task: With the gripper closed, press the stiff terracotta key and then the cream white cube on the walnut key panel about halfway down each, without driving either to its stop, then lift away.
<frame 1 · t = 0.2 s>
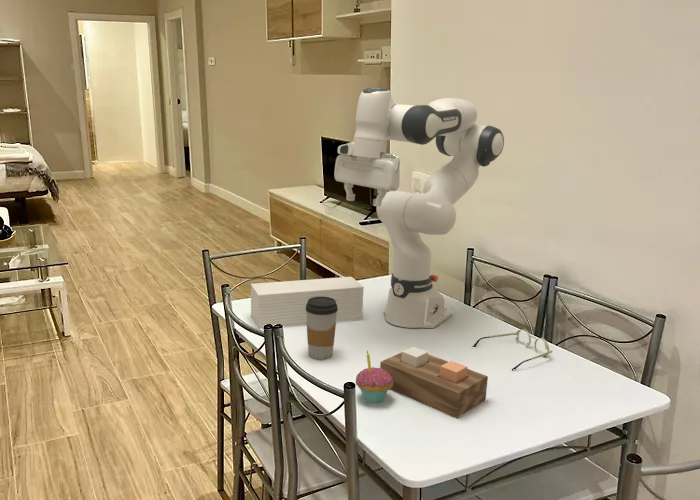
hand: (363, 203, 172), 39 cm above the table, tool pointing down, fingers open, 8 cm apart
coffee cup: (320, 355, 171), on the table
cupcake: (373, 399, 149), on the table
terracotta key: (453, 374, 148), point 6 cm above the table, slide at 0.0 cm
cream white cube: (414, 359, 155), point 6 cm above the table, slide at 0.0 cm
stack of papers: (306, 319, 197), on the table
walnut key panel: (431, 392, 153), on the table
round eyeglasses: (511, 356, 176), on the table
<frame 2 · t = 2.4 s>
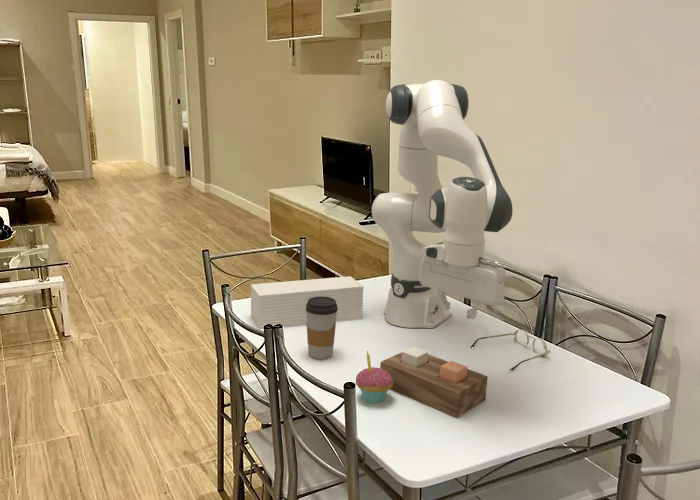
hand: (457, 313, 144), 21 cm above the table, tool pointing down, fingers open, 5 cm apart
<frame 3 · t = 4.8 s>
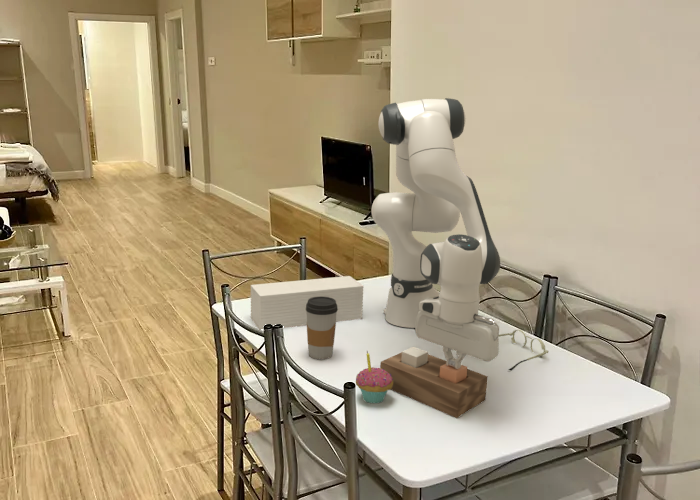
hand: (453, 366, 147), 8 cm above the table, tool pointing down, fingers closed, pressing on terracotta key
terracotta key: (453, 374, 148), point 6 cm above the table, slide at 0.1 cm, touching gripper
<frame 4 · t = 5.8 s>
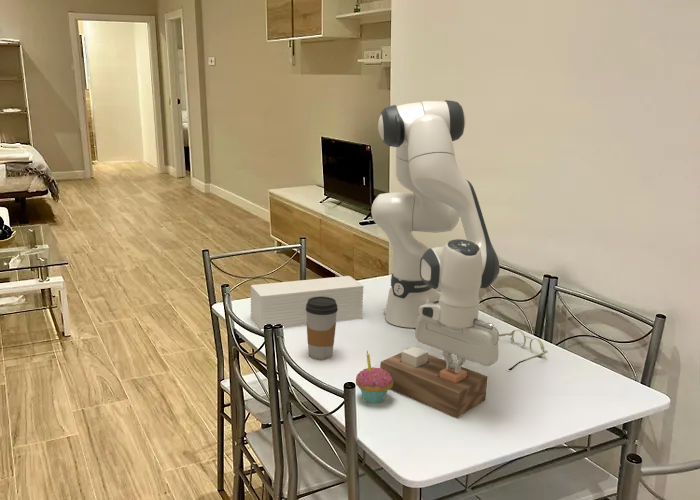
hand: (453, 370, 147), 7 cm above the table, tool pointing down, fingers closed
terracotta key: (452, 379, 148), point 5 cm above the table, slide at 1.2 cm
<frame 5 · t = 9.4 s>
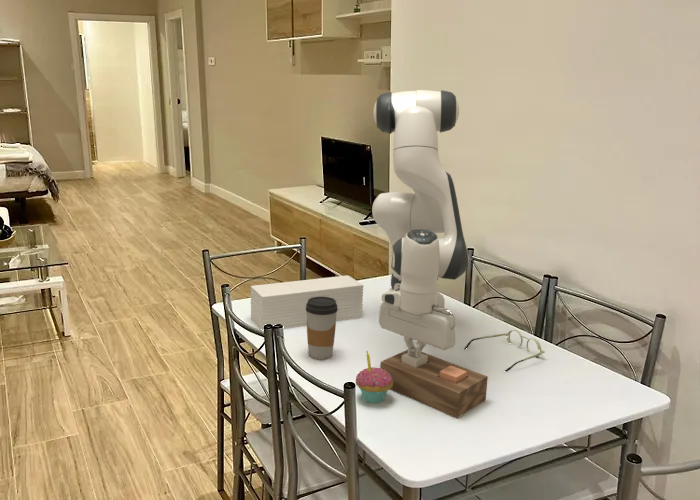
hand: (414, 355, 154), 8 cm above the table, tool pointing down, fingers closed, pressing on cream white cube
cream white cube: (414, 363, 155), point 6 cm above the table, slide at 0.9 cm, touching gripper
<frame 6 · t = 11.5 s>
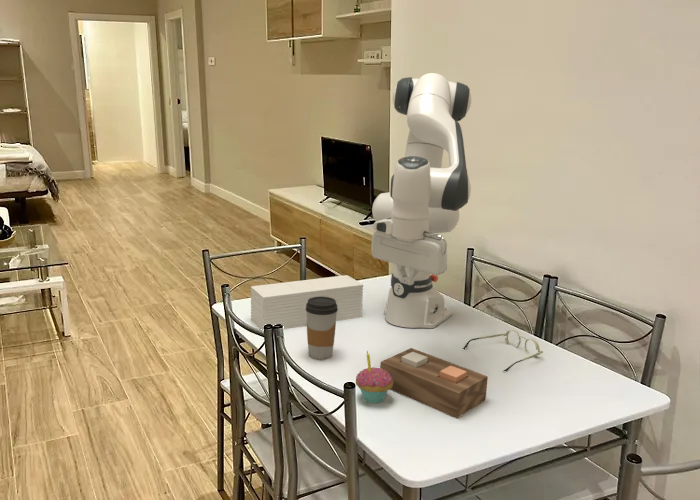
hand: (406, 283, 155), 24 cm above the table, tool pointing down, fingers closed
cream white cube: (414, 364, 155), point 5 cm above the table, slide at 1.3 cm
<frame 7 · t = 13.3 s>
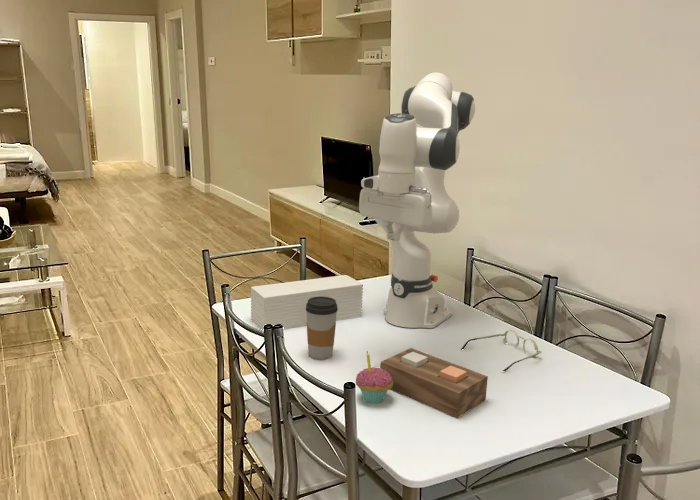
hand: (393, 239, 158), 33 cm above the table, tool pointing down, fingers closed
at the end: terracotta key slide at 1.2 cm; cream white cube slide at 1.3 cm; cupcake moved 0.2 cm from its start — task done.
